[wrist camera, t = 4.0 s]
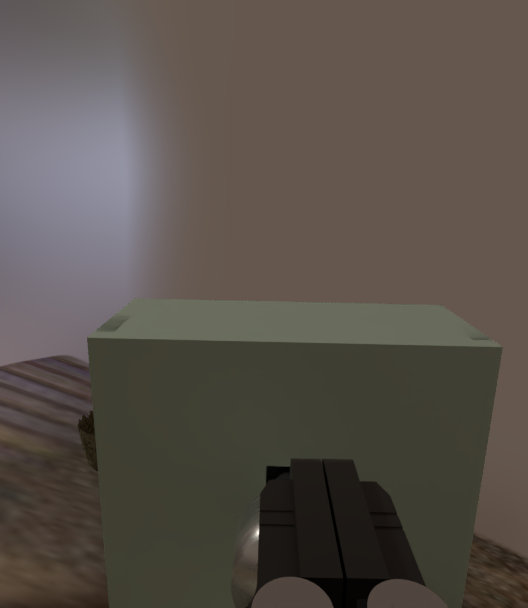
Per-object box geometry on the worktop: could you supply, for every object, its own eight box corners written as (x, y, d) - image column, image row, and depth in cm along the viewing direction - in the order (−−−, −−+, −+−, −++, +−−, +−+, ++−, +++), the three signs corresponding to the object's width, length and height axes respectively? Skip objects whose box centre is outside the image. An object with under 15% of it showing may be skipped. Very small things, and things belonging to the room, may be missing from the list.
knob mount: (436, 765, 29) (502, 347, 22) (121, 755, 29) (87, 337, 22) (401, 642, 36) (441, 305, 29) (152, 635, 37) (135, 298, 30)
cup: (152, 459, 60) (149, 404, 58) (136, 496, 53) (132, 434, 51) (96, 458, 60) (91, 403, 58) (72, 494, 53) (66, 433, 51)
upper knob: (354, 641, 18) (363, 537, 17) (230, 638, 18) (231, 534, 17) (331, 518, 25) (337, 438, 24) (241, 516, 25) (242, 435, 24)
